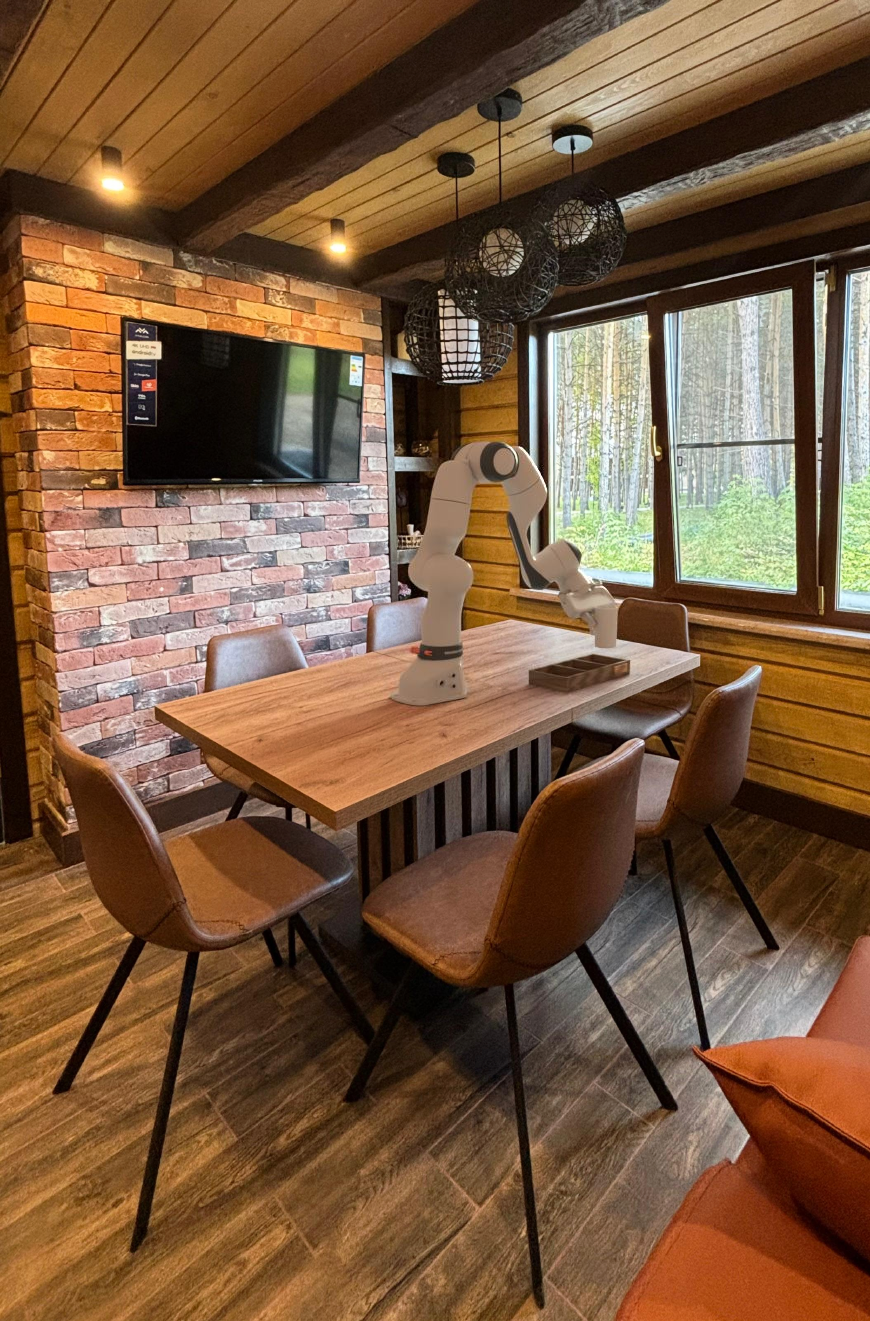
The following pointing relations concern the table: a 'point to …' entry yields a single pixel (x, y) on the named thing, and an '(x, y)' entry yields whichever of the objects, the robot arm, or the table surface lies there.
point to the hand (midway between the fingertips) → (603, 623)
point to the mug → (605, 626)
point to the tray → (579, 672)
